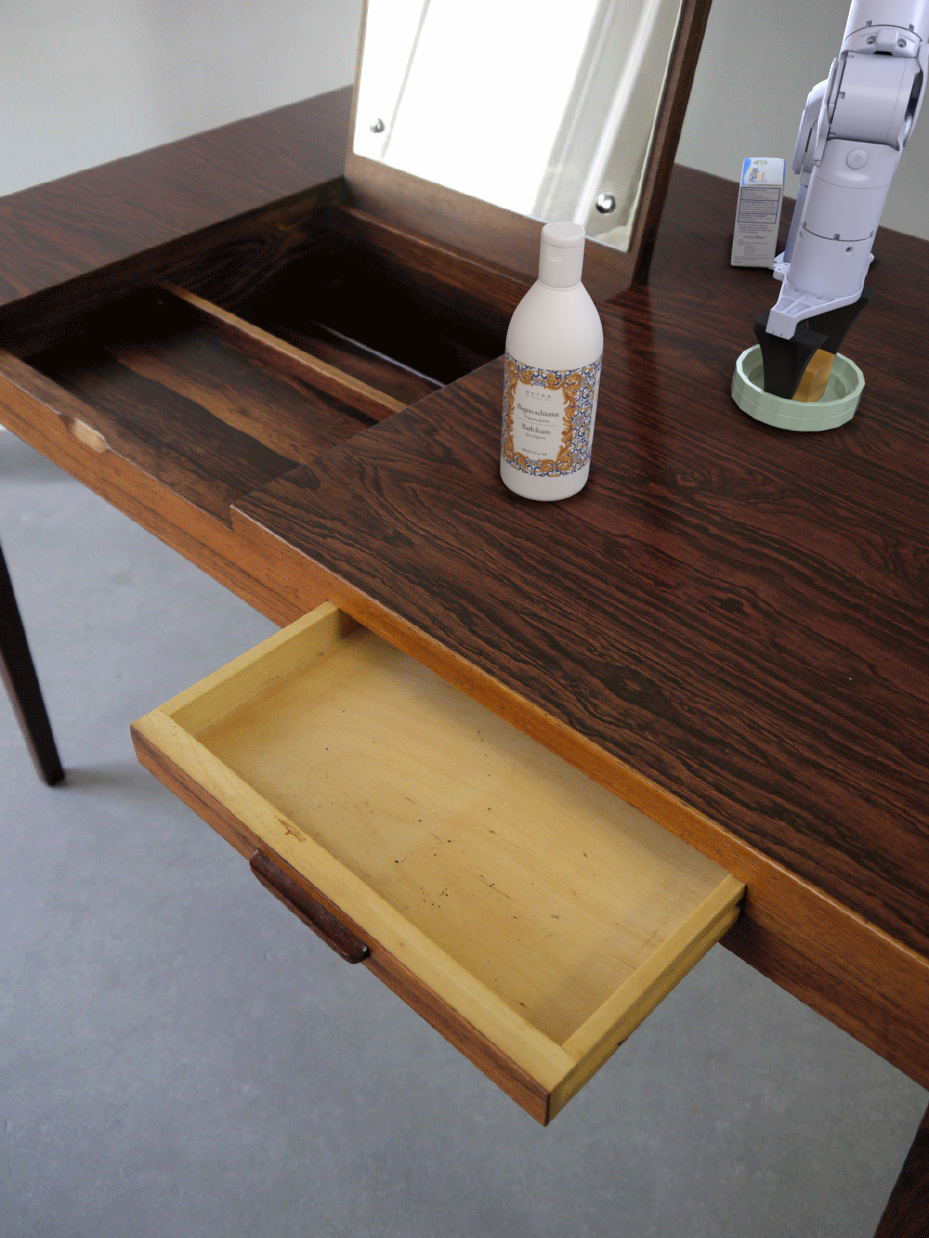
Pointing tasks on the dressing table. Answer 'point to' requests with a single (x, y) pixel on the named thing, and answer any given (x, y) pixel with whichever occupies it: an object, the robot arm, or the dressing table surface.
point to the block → (815, 377)
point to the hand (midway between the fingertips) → (797, 381)
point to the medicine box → (758, 212)
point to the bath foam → (552, 375)
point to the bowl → (794, 414)
